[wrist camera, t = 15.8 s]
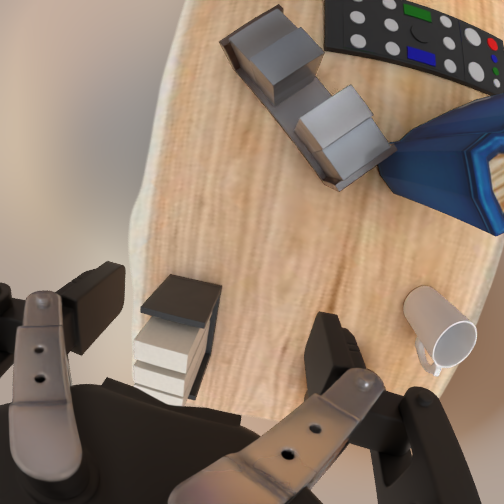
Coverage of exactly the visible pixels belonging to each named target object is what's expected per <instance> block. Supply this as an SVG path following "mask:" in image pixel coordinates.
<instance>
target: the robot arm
mask: <svg viewBox="0 0 504 504" xmlns="http://www.w3.org/2000/svg"><path fill="white" fill-rule="evenodd" d="M124 293H125V267H124V266H123V265H120V264H117V263H113V262H109V261H107V262H105V263H104V264H102V265H101V266H99V267H98V268H97V269H93V270H89V271H86V272H84V273H82V274H81V275H79V276H78V277H77V278H75V279H73V280H72V281H71V282H69V283H68V284H66V285H65V286H64V287H62V288H61V289H59V290H58V291H57V292H52V291H37V292H34V293H32V294H30V295H29V296H28V297H27V298H26V300H21V299H15V298H12V295H11V289H10V287H9V286H8V285H7V284H5V283H0V377H1V376H2V375H3V374H4V373H5V372H6V371H7V370H8V369H9V368H10V366H11V365H12V364H13V363H14V368H13V400H12V403H8V404H4V405H0V504H323V503H322V502H321V501H320V500H319V499H318V498H317V497H316V496H315V495H314V494H313V493H312V492H311V489H312V487H313V486H314V485H315V484H316V483H317V482H318V481H319V480H320V478H321V477H322V476H323V475H324V474H325V473H326V471H327V470H328V469H329V468H330V467H331V466H332V464H333V463H334V462H335V461H336V460H337V458H338V457H339V456H340V455H341V454H342V452H343V451H344V450H345V449H346V447H347V446H348V445H349V443H351V444H354V445H357V446H361V447H364V448H367V449H370V452H371V458H372V465H373V471H374V478H375V484H376V492H377V499H378V504H481V501H480V498H479V495H478V492H477V489H476V486H475V483H474V481H473V478H472V475H471V473H470V470H469V467H468V465H467V462H466V460H465V457H464V455H463V452H462V450H461V447H460V445H459V443H458V440H457V438H456V436H455V433H454V431H453V429H452V426H451V424H450V422H449V420H448V418H447V415H446V413H445V411H444V409H443V407H442V405H441V402H440V400H439V399H438V397H437V396H436V395H435V394H434V393H433V392H431V391H430V390H428V389H426V388H423V387H411V388H409V389H408V390H407V392H406V393H405V395H404V396H401V395H398V394H394V393H391V392H388V391H386V390H384V384H383V381H382V380H381V379H380V377H379V376H377V375H376V374H375V373H373V372H371V371H369V370H367V369H366V366H365V363H364V361H363V358H362V355H361V353H360V352H359V351H360V350H359V347H358V346H357V342H356V340H355V337H354V336H353V335H352V334H351V332H350V331H349V330H348V329H346V328H342V327H341V324H340V321H339V318H338V316H337V315H335V314H330V313H325V312H318V314H317V316H316V318H315V321H314V324H313V327H312V330H311V333H310V336H309V338H308V341H307V344H306V348H305V353H304V361H305V370H306V380H307V389H308V399H307V400H306V401H305V402H303V403H302V404H301V405H300V406H299V407H298V408H296V409H295V410H294V411H293V412H291V413H290V414H289V415H288V416H286V417H285V418H284V419H283V420H281V421H280V422H279V423H278V424H276V425H275V426H274V427H273V428H271V429H270V430H269V431H267V432H266V433H265V434H263V435H262V436H259V435H258V434H256V433H255V432H253V431H251V430H249V429H247V428H245V427H243V426H240V422H241V415H237V414H232V413H227V412H222V411H218V410H214V409H209V408H201V407H186V406H175V405H169V404H166V403H164V402H162V401H160V400H158V399H156V398H154V397H153V396H151V395H149V394H147V393H145V392H144V391H142V390H140V389H138V388H136V387H133V386H130V385H127V384H124V383H122V382H118V381H116V380H113V379H111V378H108V377H107V378H106V379H105V381H104V382H103V384H102V385H94V384H80V385H72V380H71V373H70V366H69V359H68V353H69V352H70V351H72V352H74V353H76V354H79V355H83V354H84V352H85V351H86V350H87V349H88V348H89V347H90V345H92V343H93V342H94V341H95V340H96V339H97V338H98V337H99V335H100V334H101V333H102V332H103V331H104V330H105V329H106V328H107V327H108V326H109V324H110V323H111V322H112V321H113V320H114V319H115V318H116V317H117V316H118V315H119V313H120V312H121V310H122V308H123V305H124V295H125V294H124ZM410 448H411V449H412V453H413V456H412V455H411V451H410Z"/></svg>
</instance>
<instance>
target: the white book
mask: <svg viewBox="0 0 504 504" xmlns="http://www.w3.org/2000/svg"><path fill="white" fill-rule="evenodd" d="M211 315H212V313H211ZM211 315H210V317H211ZM210 317H209V319H210ZM208 322H209V320H208ZM208 322H207V324H208ZM207 324H206V326H207ZM206 326H205V329H206ZM205 329H202V328H198V327H194V326H190V325H186V324H182V323H178V322H174V321H170V320H166V319H162V318H159V317H155V316H152V317H151V318H150V320H149V321H148V322H147V323H146V325H145V326H144V327H143V329H142V330H141V331H140V332H139V334H138V335H137V336H136V338H135V339H134V359H136V360H140V361H143V362H146V363H149V364H153V365H156V366H160V367H163V368H167V369H170V370H174V371H177V372H181V373H185V374H186V373H187V370H188V368H189V366H190V363H191V361H192V359H193V356H194V354H195V352H196V349H197V347H198V345H199V342H200V340H201V338H202V335H203V333H204V331H205Z"/></svg>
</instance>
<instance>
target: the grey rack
mask: <svg viewBox="0 0 504 504" xmlns="http://www.w3.org/2000/svg"><path fill="white" fill-rule="evenodd" d="M219 43H220V45H221V47H222V49H223V51H224V52H225V54H226V56H227V58H228V60H229V62H230V64H231V66H232V68H233V69H234V71H235V72H236V73H237V74H238V75H239V76H240V77H241V78H242V80H243V81H244V82H245V83H246V84H247V85H248V87H249V88H250V89H251V90H252V91H253V92H254V94H255V95H256V96H257V97H258V98H259V100H260V101H261V102H262V103H263V104H264V106H265V107H266V108H267V109H268V111H269V112H270V113H271V114H272V116H273V117H274V118H275V119H276V120H277V122H278V123H279V124H280V126H281V127H282V128H283V129H284V131H285V132H286V133H287V134H288V136H289V137H290V138H291V140H292V141H293V142H294V144H295V145H296V146H297V148H298V149H299V150H300V152H301V153H302V154H303V156H304V157H305V158H306V160H307V161H308V162H309V164H310V165H311V166H312V168H313V169H314V171H315V172H316V173H317V175H318V176H319V178H320V179H321V180H322V182H323V183H324V185H326V186H328V187H330V188H333V189H335V190H337V191H339V192H340V191H341V190H343V189H344V188H345V187H347V186H348V185H350V184H351V183H352V182H354V181H355V180H357V179H358V178H359V177H361V176H362V175H364V174H365V173H367V172H368V171H369V170H371V169H372V168H374V167H375V166H376V165H378V164H379V163H381V162H382V161H383V160H385V159H386V158H388V157H389V156H390V155H392V154H393V153H395V152H396V151H397V150H398V149H397V148H396V146H395V145H394V144H389V143H388V141H387V140H386V138H385V137H384V135H383V134H382V132H381V131H380V129H379V128H378V126H377V125H376V123H375V122H374V121H373V119H372V118H371V116H373V113H372V112H371V110H370V109H369V108H368V106H367V105H366V104H365V102H364V101H363V100H362V98H361V97H360V96H359V94H358V93H357V92H356V90H355V89H354V88H353V86H352V85H349V86H347V87H346V88H344V89H343V90H341V91H339V92H338V93H336V94H335V95H333V96H331V94H330V93H329V92H328V91H327V89H326V88H325V87H324V86H323V85H322V83H321V82H320V81H319V80H318V78H317V77H316V76H315V75H316V72H317V70H318V67H319V65H320V63H321V60H322V58H323V55H324V51H323V50H322V49H321V48H320V47H319V46H318V45H317V44H316V43H315V41H314V40H313V39H312V38H311V37H310V36H309V35H308V34H307V33H306V32H305V31H304V30H303V29H302V28H301V27H300V28H297V27H296V26H295V25H294V24H293V23H292V22H291V21H290V20H289V19H288V18H287V17H286V16H285V15H284V14H283V8H282V7H281V6H280V5H279V4H278V5H277V6H275V7H273V8H271V9H270V10H268V11H266V12H264V13H263V14H261V15H259V16H258V17H256V18H254V19H253V20H251V21H250V22H248V23H246V24H245V25H243V26H242V27H240V28H239V29H237V30H236V31H234V32H233V33H231V34H230V35H228V36H227V37H225V38H224V39H222V40H221V41H219Z"/></svg>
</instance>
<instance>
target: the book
mask: <svg viewBox="0 0 504 504" xmlns="http://www.w3.org/2000/svg"><path fill="white" fill-rule="evenodd" d="M389 144H394V145H395V146H396V148H397V149H398V150H397V151H396V152H395V153H393V154H392V155H390V156H389V157H388V158H386V159H385V160H383V161H382V162H381V163H379V164H378V168H379V172H380V175H381V177H382V178H383V180H384V181H385V182H386V184H387V185H388V186H389V188H390V189H391V191H392V192H393V193H394V194H397V195H399V196H402V197H405V198H407V199H410V200H413V201H415V202H418V203H420V204H423V205H425V206H428V207H430V208H433V209H435V210H438V211H440V212H443V213H445V214H447V215H450V216H452V217H454V218H457V219H459V220H461V221H464V222H466V223H468V224H470V225H472V226H475V227H477V228H479V229H481V230H483V231H485V232H488V233H490V234H492V235H494V236H498V235H500V234H503V233H504V93H502V94H497V95H493V96H488V97H484V98H480V99H476V100H474V101H472V102H469V103H467V104H465V105H462V106H460V107H458V108H456V109H453V110H451V111H449V112H447V113H444V114H442V115H440V116H438V117H436V118H434V119H432V120H430V121H428V122H426V123H424V124H422V125H420V126H418V127H416V128H414V129H412V130H411V131H410V132H408V133H407V134H406V135H405V136H404V137H403V138H402V139H401V140H400V141H397V142H390V143H389Z"/></svg>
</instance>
